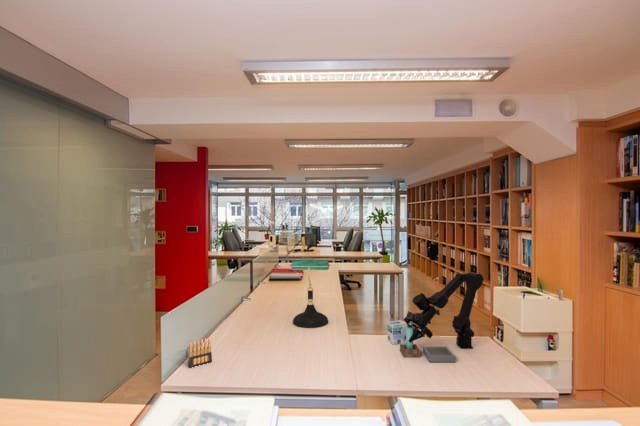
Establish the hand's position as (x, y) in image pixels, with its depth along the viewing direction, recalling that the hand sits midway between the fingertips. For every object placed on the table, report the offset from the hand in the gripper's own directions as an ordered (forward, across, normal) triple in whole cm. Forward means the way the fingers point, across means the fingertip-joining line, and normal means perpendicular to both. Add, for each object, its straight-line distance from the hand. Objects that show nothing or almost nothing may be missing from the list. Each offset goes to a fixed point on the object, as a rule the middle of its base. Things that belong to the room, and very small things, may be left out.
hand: (407, 340), depth 174 cm
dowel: (+4, 0, +6) cm, 7 cm away
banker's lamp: (+28, -65, -18) cm, 73 cm away
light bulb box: (+2, -17, +8) cm, 19 cm away
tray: (-4, +8, +14) cm, 16 cm away
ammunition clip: (+75, -20, -64) cm, 101 cm away
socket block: (+4, 0, +6) cm, 7 cm away
